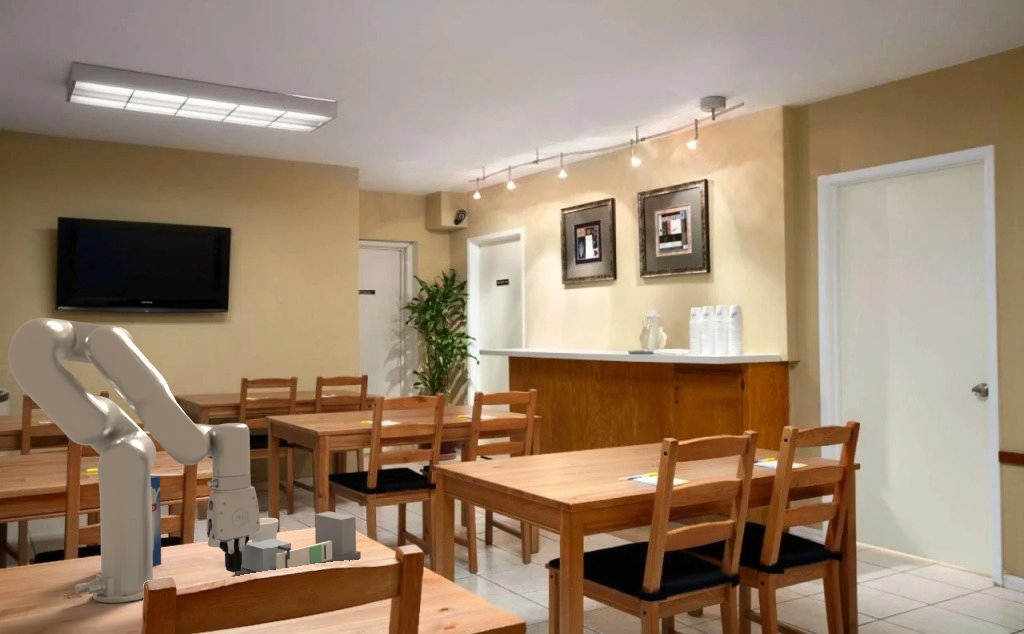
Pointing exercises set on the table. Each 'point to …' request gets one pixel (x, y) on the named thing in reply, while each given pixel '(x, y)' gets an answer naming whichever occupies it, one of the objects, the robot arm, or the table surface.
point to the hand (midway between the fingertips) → (233, 570)
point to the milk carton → (156, 519)
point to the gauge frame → (323, 543)
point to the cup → (266, 529)
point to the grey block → (263, 554)
